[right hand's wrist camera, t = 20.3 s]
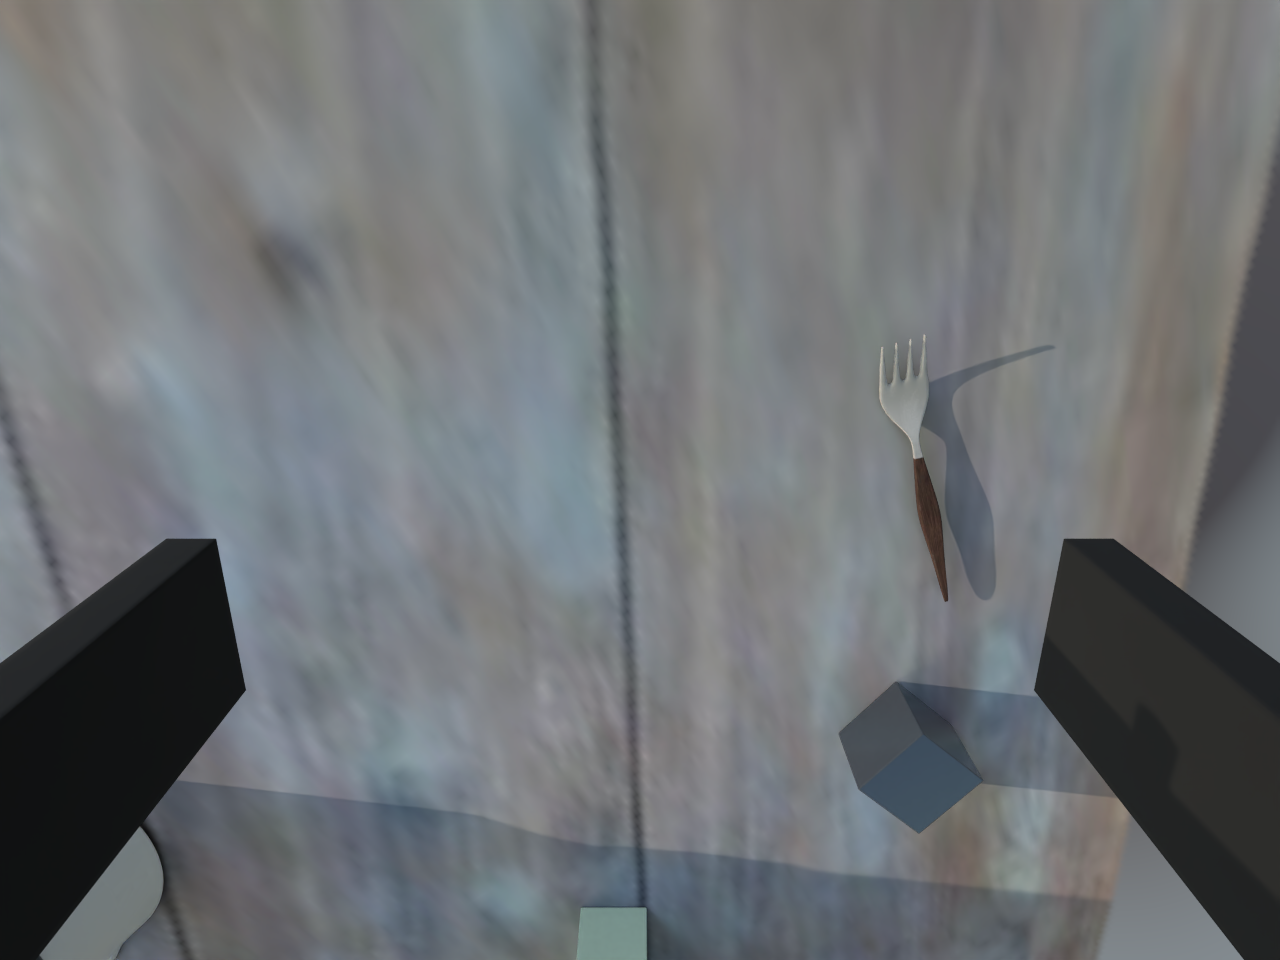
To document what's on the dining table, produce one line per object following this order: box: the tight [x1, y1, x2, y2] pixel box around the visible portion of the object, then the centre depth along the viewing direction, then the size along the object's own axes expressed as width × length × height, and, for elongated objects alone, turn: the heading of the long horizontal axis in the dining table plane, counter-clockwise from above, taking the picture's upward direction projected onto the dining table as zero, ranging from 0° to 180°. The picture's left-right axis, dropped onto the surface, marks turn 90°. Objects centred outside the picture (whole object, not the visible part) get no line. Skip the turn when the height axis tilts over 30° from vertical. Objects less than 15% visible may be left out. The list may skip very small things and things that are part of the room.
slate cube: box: [839, 682, 983, 833], centre depth 48 cm, size 5×5×5 cm
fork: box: [879, 334, 948, 602], centre depth 43 cm, size 3×16×2 cm, turn 17°
